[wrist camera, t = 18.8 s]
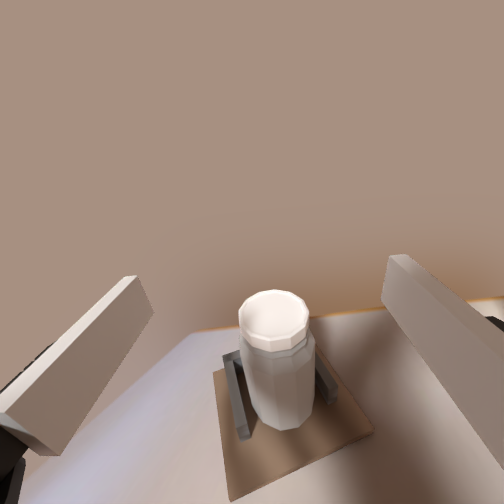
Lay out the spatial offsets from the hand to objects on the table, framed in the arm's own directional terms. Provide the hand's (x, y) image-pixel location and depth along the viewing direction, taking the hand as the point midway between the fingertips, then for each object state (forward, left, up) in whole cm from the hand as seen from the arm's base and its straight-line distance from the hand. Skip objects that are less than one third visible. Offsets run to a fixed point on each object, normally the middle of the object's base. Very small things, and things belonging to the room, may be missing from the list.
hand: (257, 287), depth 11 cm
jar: (-3, -9, -29) cm, 31 cm away
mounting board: (-3, -9, -30) cm, 32 cm away
